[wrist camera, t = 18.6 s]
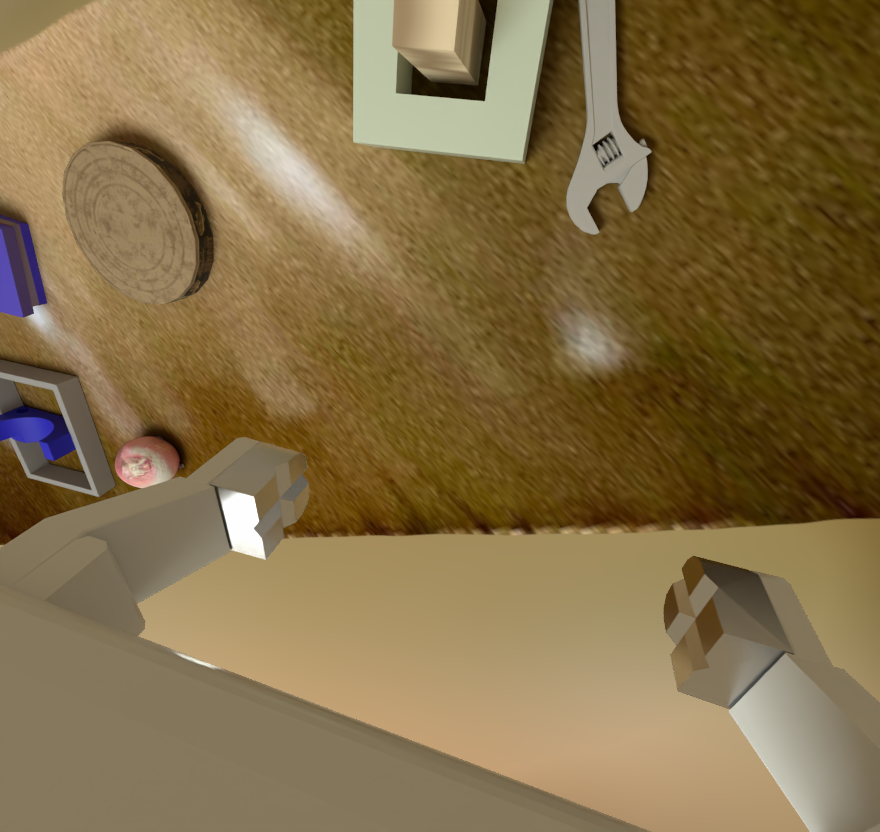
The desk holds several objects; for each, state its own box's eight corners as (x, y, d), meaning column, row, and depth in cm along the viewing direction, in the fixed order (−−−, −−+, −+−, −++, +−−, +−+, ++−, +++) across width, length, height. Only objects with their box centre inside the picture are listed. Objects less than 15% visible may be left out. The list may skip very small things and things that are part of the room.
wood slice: (202, 152, 42) (180, 150, 40) (225, 309, 50) (207, 315, 47) (70, 135, 44) (40, 132, 42) (111, 287, 52) (88, 292, 50)
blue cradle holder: (32, 429, 68) (-10, 449, 63) (22, 405, 66) (-23, 423, 61) (95, 447, 66) (57, 469, 61) (87, 423, 64) (47, 443, 59)
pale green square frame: (565, -70, 29) (567, -105, 26) (524, 163, 36) (522, 160, 33) (375, -75, 31) (353, -108, 28) (371, 146, 38) (353, 142, 35)
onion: (184, 432, 62) (162, 466, 56) (191, 469, 67) (171, 504, 61) (124, 425, 61) (95, 459, 55) (135, 463, 65) (109, 498, 59)
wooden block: (486, 21, 32) (462, -41, 24) (478, 86, 34) (454, 50, 26) (436, 17, 33) (395, -44, 24) (431, 81, 35) (392, 45, 26)
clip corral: (77, 376, 60) (56, 385, 58) (115, 485, 70) (99, 496, 68) (-2, 359, 62) (-26, 366, 60) (46, 467, 72) (27, 477, 70)
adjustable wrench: (562, -181, 27) (563, -203, 26) (672, -223, 26) (680, -249, 24) (566, 233, 38) (566, 234, 37) (643, 223, 36) (647, 224, 35)
